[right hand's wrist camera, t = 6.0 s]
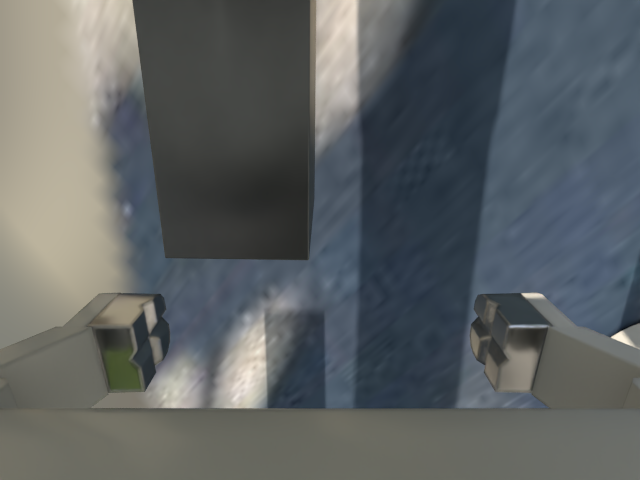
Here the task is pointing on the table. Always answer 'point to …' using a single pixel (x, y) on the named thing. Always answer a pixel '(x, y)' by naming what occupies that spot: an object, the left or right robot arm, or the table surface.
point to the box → (231, 124)
